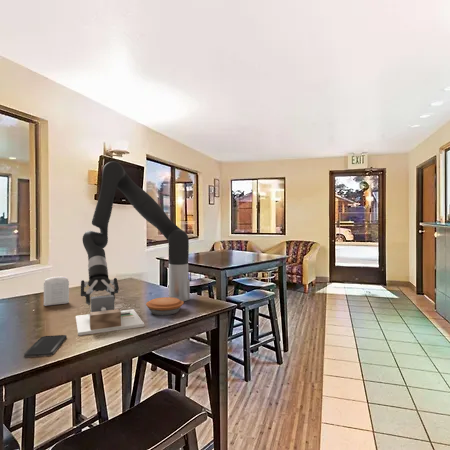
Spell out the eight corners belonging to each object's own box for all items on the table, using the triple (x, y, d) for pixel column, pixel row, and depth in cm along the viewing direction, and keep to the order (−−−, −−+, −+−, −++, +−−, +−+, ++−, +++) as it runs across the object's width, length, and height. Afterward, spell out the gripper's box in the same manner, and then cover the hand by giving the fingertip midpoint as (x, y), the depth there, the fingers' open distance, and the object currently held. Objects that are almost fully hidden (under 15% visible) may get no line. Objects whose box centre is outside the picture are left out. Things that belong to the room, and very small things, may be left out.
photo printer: (68, 301, 159) (67, 274, 158) (69, 303, 155) (69, 276, 155) (43, 304, 153) (42, 277, 153) (44, 306, 149) (43, 278, 149)
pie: (167, 319, 132) (167, 306, 132) (137, 313, 140) (137, 301, 140) (190, 309, 146) (190, 298, 146) (162, 304, 153) (162, 293, 153)
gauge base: (133, 311, 142) (133, 308, 142) (144, 326, 123) (144, 322, 123) (75, 318, 133) (75, 314, 133) (78, 335, 114) (77, 331, 114)
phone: (67, 334, 112) (52, 352, 98) (67, 338, 112) (52, 356, 98) (41, 336, 111) (22, 354, 96) (41, 339, 111) (22, 358, 96)
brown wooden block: (119, 322, 124) (119, 309, 124) (120, 325, 121) (120, 311, 120) (89, 326, 120) (89, 312, 120) (90, 330, 116) (90, 315, 116)
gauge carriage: (129, 313, 134) (129, 293, 134) (132, 318, 128) (132, 297, 127) (91, 318, 128) (90, 296, 128) (92, 323, 122) (92, 301, 121)
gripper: (79, 264, 138) (81, 299, 128) (116, 262, 144) (120, 295, 134) (79, 275, 143) (80, 310, 133) (114, 273, 149) (118, 305, 139)
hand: (101, 302), depth 133 cm, fingers open, 8 cm apart
